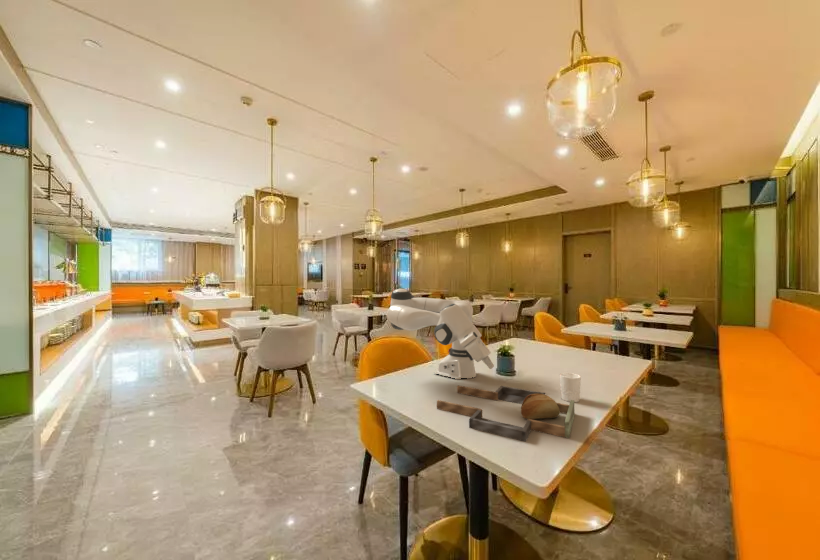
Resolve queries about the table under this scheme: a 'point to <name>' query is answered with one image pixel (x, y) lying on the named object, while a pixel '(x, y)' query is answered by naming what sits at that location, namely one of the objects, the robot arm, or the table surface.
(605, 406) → the table surface
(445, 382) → the table surface
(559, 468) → the table surface
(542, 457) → the table surface
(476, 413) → the box
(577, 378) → the white cup
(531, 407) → the bread roll
